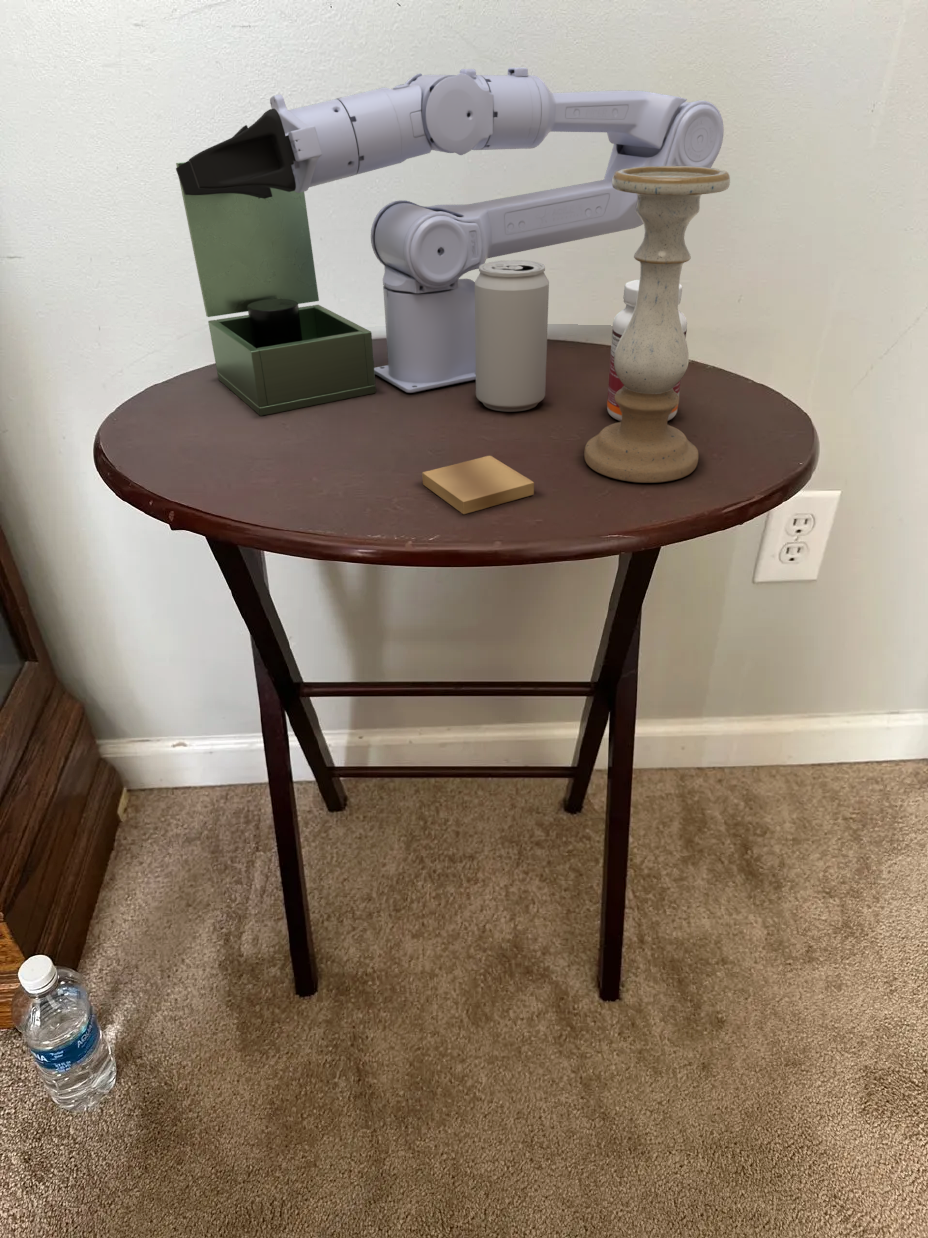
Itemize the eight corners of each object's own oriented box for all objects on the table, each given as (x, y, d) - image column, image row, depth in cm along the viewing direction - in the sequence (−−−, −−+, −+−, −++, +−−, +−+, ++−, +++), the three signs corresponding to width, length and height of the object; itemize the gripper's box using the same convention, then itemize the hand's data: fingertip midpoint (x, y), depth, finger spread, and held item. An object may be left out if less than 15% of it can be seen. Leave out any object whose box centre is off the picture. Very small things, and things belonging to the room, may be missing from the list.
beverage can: (540, 416, 75) (545, 273, 69) (469, 412, 76) (467, 271, 70) (548, 393, 80) (554, 258, 74) (482, 389, 81) (482, 256, 75)
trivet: (490, 467, 66) (490, 454, 66) (533, 494, 62) (534, 482, 61) (422, 484, 64) (422, 472, 63) (463, 514, 59) (463, 501, 59)
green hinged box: (376, 392, 81) (371, 331, 78) (260, 416, 76) (250, 351, 73) (324, 360, 90) (318, 304, 87) (218, 379, 85) (207, 320, 82)
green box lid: (299, 154, 80) (297, 154, 81) (177, 162, 75) (175, 162, 76) (319, 300, 87) (317, 300, 87) (208, 317, 82) (206, 316, 82)
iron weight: (295, 361, 87) (287, 296, 84) (313, 373, 84) (305, 305, 80) (250, 369, 85) (240, 302, 82) (267, 382, 82) (257, 313, 78)
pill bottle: (653, 399, 79) (667, 273, 72) (690, 421, 74) (708, 288, 68) (593, 408, 77) (602, 280, 71) (627, 431, 72) (640, 295, 66)
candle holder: (561, 462, 66) (576, 172, 55) (626, 432, 72) (652, 161, 60) (656, 495, 61) (694, 182, 50) (718, 459, 67) (765, 169, 55)
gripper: (306, 97, 75) (157, 132, 71) (357, 66, 63) (179, 106, 59) (330, 184, 78) (188, 221, 75) (382, 170, 66) (216, 215, 63)
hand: (187, 177), depth 67 cm, fingers open, 7 cm apart
